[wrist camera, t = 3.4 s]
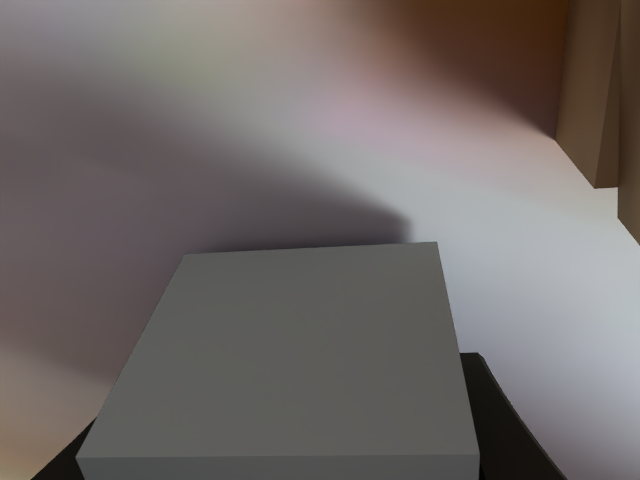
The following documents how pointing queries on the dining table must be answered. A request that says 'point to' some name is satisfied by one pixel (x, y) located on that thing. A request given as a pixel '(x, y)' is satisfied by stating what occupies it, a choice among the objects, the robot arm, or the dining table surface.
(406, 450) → the slate cube
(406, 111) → the dining table surface
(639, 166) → the slab upper
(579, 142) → the slab lower
